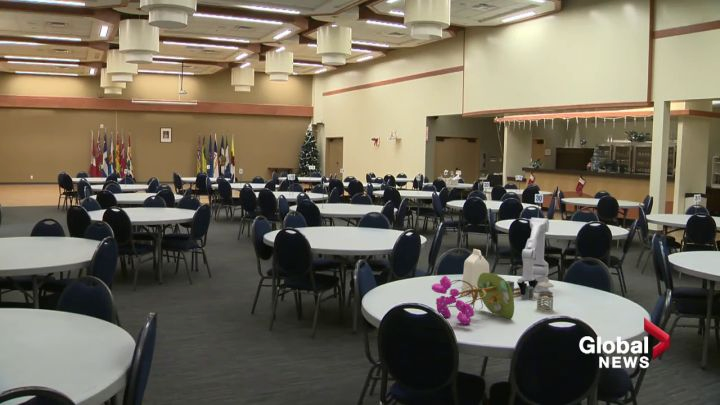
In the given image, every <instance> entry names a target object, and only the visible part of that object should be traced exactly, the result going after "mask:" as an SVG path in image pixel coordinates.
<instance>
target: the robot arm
mask: <svg viewBox="0 0 720 405" xmlns="http://www.w3.org/2000/svg"><path fill="white" fill-rule="evenodd" d="M529 227H530V229H531V231H530V237H529V238H527V241H526V243H525V247H524V248H523V249H522V251H521V261H522V277H520V278H517V283H516V284H517V286H518V288H520V292H521V295H525V289H526V286H532V287H533V289H534V288H535V290H534V293H538V292H540V291H546V292H547V291H548V292H551V291H550V289H549V287H541V286H538V284H539V283H541V282H549V283H550V280H549V277H548V276H549V273H550V272H549V271H550V270H549V266H547V276H546V266H545V264H546V263H547V264H549V263H548V262H547V261H546V260H545V245H546V244H545V242H546V233H547V232H549V229H550V222H549V218H544V217H543V218H542V217H541V218H540V217H533V216H532V217H531V218H530V220H529ZM527 282H528V283H527ZM536 287H538V288H536Z"/></svg>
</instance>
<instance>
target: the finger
mask: <svg viewBox="0 0 720 405" xmlns="http://www.w3.org/2000/svg"><path fill="white" fill-rule="evenodd" d="M532 291H534V290H533V287H532V286H529V285H527V286H526V289H525V295H521V296H520V299H522V300H523V299H524V300H527V301H530V300H534V298H533V297H534V295H533V296H532Z"/></svg>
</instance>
